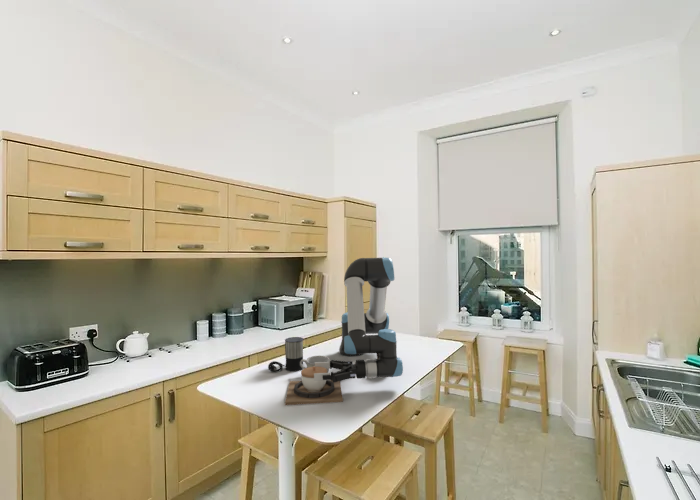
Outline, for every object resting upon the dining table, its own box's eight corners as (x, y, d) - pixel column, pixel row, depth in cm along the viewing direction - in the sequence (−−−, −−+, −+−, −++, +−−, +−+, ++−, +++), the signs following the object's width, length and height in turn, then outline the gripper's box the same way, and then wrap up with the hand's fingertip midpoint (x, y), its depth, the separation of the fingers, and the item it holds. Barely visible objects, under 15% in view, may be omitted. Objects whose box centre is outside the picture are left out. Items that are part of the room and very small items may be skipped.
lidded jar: (305, 396, 135) (305, 372, 135) (298, 387, 145) (298, 364, 145) (331, 391, 139) (330, 368, 140) (322, 382, 149) (322, 361, 149)
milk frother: (307, 368, 172) (307, 338, 172) (283, 377, 160) (282, 345, 160) (289, 362, 181) (288, 334, 182) (264, 371, 169) (263, 340, 169)
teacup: (333, 373, 164) (332, 356, 164) (324, 381, 154) (323, 363, 154) (306, 370, 168) (306, 354, 168) (296, 378, 158) (295, 361, 158)
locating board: (289, 383, 152) (289, 377, 152) (339, 380, 154) (339, 375, 154) (285, 405, 130) (284, 398, 130) (342, 401, 132) (342, 395, 132)
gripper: (369, 389, 131) (313, 392, 130) (362, 367, 156) (315, 370, 155) (369, 369, 131) (313, 372, 130) (361, 351, 156) (314, 353, 155)
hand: (314, 371), depth 142 cm, fingers open, 13 cm apart
